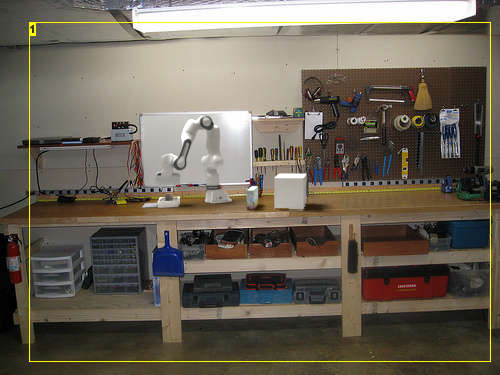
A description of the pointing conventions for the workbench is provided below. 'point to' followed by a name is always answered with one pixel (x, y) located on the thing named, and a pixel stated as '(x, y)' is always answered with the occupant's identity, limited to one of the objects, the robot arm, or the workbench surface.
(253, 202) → the snack box
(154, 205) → the rubber mat
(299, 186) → the cube
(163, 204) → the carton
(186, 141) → the robot arm
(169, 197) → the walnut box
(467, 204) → the workbench surface
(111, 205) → the workbench surface
